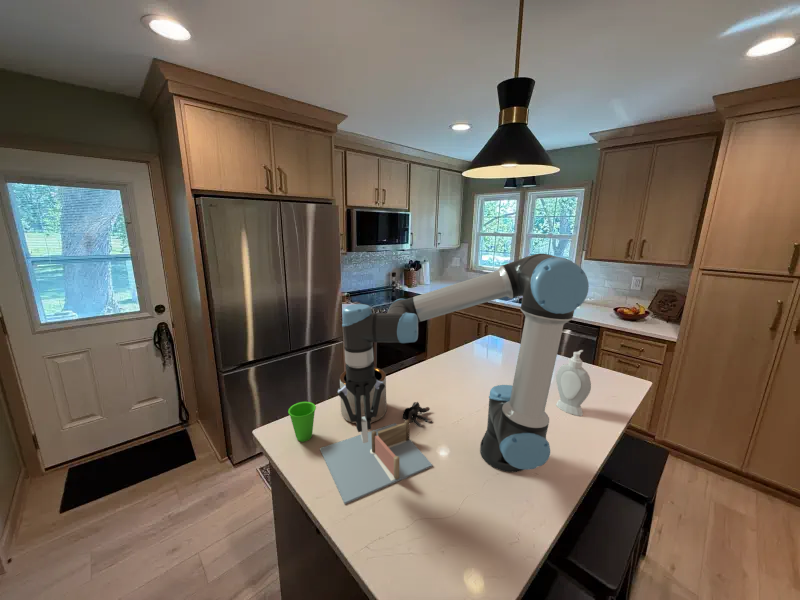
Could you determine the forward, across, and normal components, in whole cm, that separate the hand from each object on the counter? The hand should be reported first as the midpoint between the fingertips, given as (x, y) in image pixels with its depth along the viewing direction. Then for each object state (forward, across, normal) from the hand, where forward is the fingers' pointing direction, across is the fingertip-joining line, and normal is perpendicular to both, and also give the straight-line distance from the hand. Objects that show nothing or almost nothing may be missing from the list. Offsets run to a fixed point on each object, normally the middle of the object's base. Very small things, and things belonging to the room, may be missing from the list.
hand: (364, 439), depth 91 cm
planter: (+13, -7, -33) cm, 36 cm away
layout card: (+13, -4, -7) cm, 15 cm away
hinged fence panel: (+12, -7, -1) cm, 13 cm away
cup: (+12, +16, -25) cm, 32 cm away
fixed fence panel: (+13, -11, -10) cm, 20 cm away
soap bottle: (+15, -85, -8) cm, 87 cm away
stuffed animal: (+14, -25, -24) cm, 37 cm away
